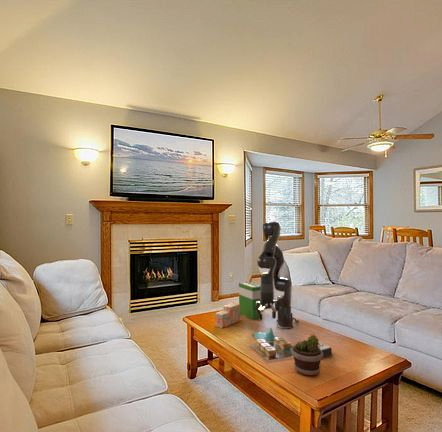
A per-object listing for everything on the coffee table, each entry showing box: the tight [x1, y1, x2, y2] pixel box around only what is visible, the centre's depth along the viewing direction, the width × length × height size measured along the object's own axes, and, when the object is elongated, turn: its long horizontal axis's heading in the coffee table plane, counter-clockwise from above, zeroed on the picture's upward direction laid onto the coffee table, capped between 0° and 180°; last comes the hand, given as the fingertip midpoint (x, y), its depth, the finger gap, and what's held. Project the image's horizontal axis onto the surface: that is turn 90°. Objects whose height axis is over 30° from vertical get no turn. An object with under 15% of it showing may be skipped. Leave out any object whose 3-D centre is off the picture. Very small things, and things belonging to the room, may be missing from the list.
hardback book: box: [238, 281, 261, 321], centre depth 233 cm, size 18×7×24 cm, turn 26°
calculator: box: [297, 340, 333, 358], centre depth 170 cm, size 11×4×15 cm
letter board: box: [251, 336, 294, 361], centre depth 171 cm, size 22×20×4 cm
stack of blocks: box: [214, 302, 241, 329], centre depth 217 cm, size 21×6×12 cm, turn 136°
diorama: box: [253, 327, 275, 342], centre depth 189 cm, size 12×20×9 cm, turn 24°
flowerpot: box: [290, 333, 324, 377], centre depth 148 cm, size 14×15×20 cm
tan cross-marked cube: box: [265, 347, 276, 356], centre depth 165 cm, size 4×4×3 cm
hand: (267, 318), depth 174 cm, fingers open, 8 cm apart
